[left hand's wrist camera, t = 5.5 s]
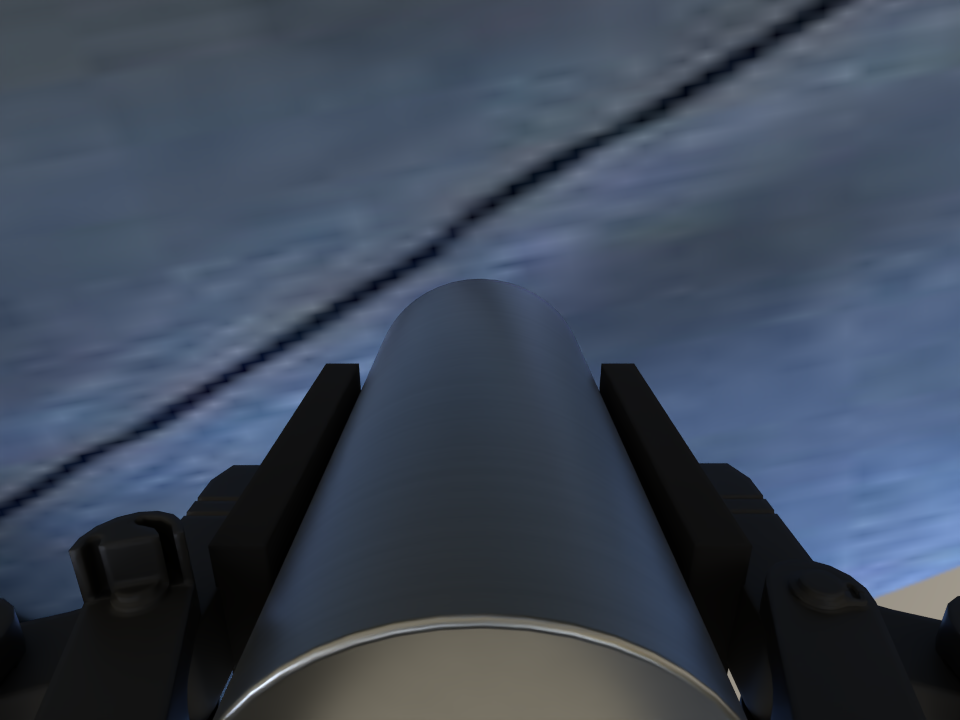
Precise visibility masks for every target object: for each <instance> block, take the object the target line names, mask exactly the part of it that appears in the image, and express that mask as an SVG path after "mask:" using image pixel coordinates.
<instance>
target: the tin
mask: <svg viewBox="0 0 960 720" xmlns="http://www.w3.org/2000/svg"><path fill="white" fill-rule="evenodd" d="M213 720H747V718H746V715H745V713H744V711H743V709H742V707H741V704H740V702H739V700H738V698H737V695H736V693H735V691H734V689H733V687H732V685H731V682H730V680H729V678H728V676H727V673H726V671H725V669H724V667H723V664H722V662H721V660H720V658H719V656H718V653H717V651H716V649H715V647H714V645H713V642H712V640H711V638H710V636H709V633H708V631H707V629H706V627H705V625H704V622H703V620H702V618H701V616H700V613H699V611H698V609H697V607H696V605H695V602H694V600H693V598H692V596H691V594H690V591H689V589H688V587H687V585H686V582H685V580H684V578H683V576H682V574H681V571H680V569H679V567H678V565H677V563H676V560H675V558H674V556H673V554H672V551H671V549H670V547H669V545H668V543H667V540H666V538H665V536H664V534H663V531H662V529H661V527H660V525H659V523H658V520H657V518H656V516H655V514H654V512H653V509H652V507H651V505H650V503H649V500H648V498H647V496H646V494H645V492H644V489H643V487H642V485H641V483H640V481H639V478H638V476H637V474H636V472H635V469H634V467H633V465H632V463H631V461H630V458H629V456H628V454H627V452H626V449H625V447H624V445H623V443H622V441H621V438H620V436H619V434H618V432H617V430H616V427H615V425H614V423H613V421H612V418H611V416H610V414H609V412H608V410H607V407H606V405H605V403H604V401H603V398H602V396H601V394H600V392H599V390H598V387H597V385H596V383H595V381H594V379H593V376H592V374H591V372H590V370H589V367H588V365H587V363H586V361H585V359H584V356H583V354H582V352H581V350H580V348H579V345H578V343H577V341H576V339H575V336H574V334H573V332H572V330H571V329H570V327H569V326H568V324H567V322H566V321H565V320H564V319H563V317H562V316H561V315H560V314H559V313H558V311H557V310H556V309H554V308H553V307H552V306H551V305H550V304H549V303H548V302H547V301H545V300H544V299H542V298H541V297H539V296H538V295H536V294H535V293H533V292H531V291H529V290H527V289H525V288H523V287H520V286H517V285H514V284H511V283H507V282H503V281H498V280H488V279H471V280H463V281H457V282H452V283H449V284H446V285H443V286H440V287H438V288H436V289H433V290H431V291H429V292H427V293H426V294H424V295H422V296H421V297H419V298H418V299H416V300H415V301H414V302H413V303H411V304H410V305H409V306H408V307H407V308H405V309H404V311H403V312H402V313H401V314H400V315H399V316H398V317H397V319H396V320H395V321H394V323H393V324H392V326H391V327H390V329H389V331H388V333H387V335H386V337H385V339H384V341H383V343H382V345H381V348H380V350H379V352H378V354H377V357H376V359H375V361H374V363H373V365H372V368H371V370H370V372H369V374H368V376H367V379H366V381H365V383H364V385H363V388H362V390H361V392H360V394H359V396H358V399H357V401H356V403H355V405H354V408H353V410H352V412H351V414H350V416H349V419H348V421H347V423H346V425H345V427H344V430H343V432H342V434H341V436H340V439H339V441H338V443H337V445H336V447H335V450H334V452H333V454H332V456H331V459H330V461H329V463H328V465H327V467H326V470H325V472H324V474H323V476H322V478H321V481H320V483H319V485H318V487H317V490H316V492H315V494H314V496H313V498H312V501H311V503H310V505H309V507H308V510H307V512H306V514H305V516H304V518H303V521H302V523H301V525H300V527H299V529H298V532H297V534H296V536H295V538H294V541H293V543H292V545H291V547H290V549H289V552H288V554H287V556H286V558H285V561H284V563H283V565H282V567H281V569H280V572H279V574H278V576H277V578H276V580H275V583H274V585H273V587H272V589H271V592H270V594H269V596H268V598H267V600H266V603H265V605H264V607H263V609H262V612H261V614H260V616H259V618H258V620H257V623H256V625H255V627H254V629H253V631H252V634H251V636H250V638H249V640H248V643H247V645H246V647H245V649H244V651H243V654H242V656H241V658H240V660H239V663H238V665H237V667H236V669H235V671H234V674H233V676H232V678H231V680H230V682H229V685H228V687H227V689H226V691H225V694H224V696H223V698H222V700H221V702H220V705H219V707H218V709H217V711H216V714H215V716H214V718H213Z"/></svg>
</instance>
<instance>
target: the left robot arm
mask: <svg viewBox="0 0 960 720" xmlns="http://www.w3.org/2000/svg"><path fill="white" fill-rule="evenodd" d="M360 392H361V385H360V372H359V364H326V365H325V366H324V368H323V369H322V371H321V373H320V374H319V376H318V377H317V379H316V380H315V382H314V383H313V385H312V386H311V388H310V389H309V391H308V393H307V394H306V396H305V397H304V399H303V400H302V402H301V403H300V405H299V406H298V408H297V410H296V411H295V413H294V414H293V416H292V417H291V419H290V420H289V422H288V423H287V425H286V426H285V428H284V430H283V431H282V433H281V434H280V436H279V437H278V439H277V440H276V442H275V443H274V445H273V446H272V448H271V450H270V451H269V453H268V454H267V456H266V457H265V459H264V460H263V462H262V463H261V465H233V466H232V467H230V468H229V469H227V470H226V471H224V472H223V473H221V474H220V475H218V476H217V477H215V478H214V479H212V480H211V481H210V482H209V484H208V485H207V486H206V488H205V489H204V490H203V491H202V493H201V494H200V495H199V497H198V501H195V502H194V503H193V505H192V506H191V507H190V509H189V510H188V511H187V515H186V516H183V518H182V519H181V520H180V519H179V518H177V517H176V516H175V515H174V514H170V513H165V512H161V511H148V512H137V513H133V514H129V515H124V516H120V517H117V518H114V519H112V520H110V521H108V522H105V523H103V524H101V525H98V526H96V527H95V528H93V529H92V530H90V531H89V532H87V533H86V534H84V535H83V536H82V537H80V538H79V539H78V540H77V541H76V543H75V544H74V545H73V546H72V547H71V549H70V550H69V554H70V557H71V561H72V564H73V567H74V571H75V574H76V577H77V581H78V584H79V588H80V591H81V594H82V598H83V601H84V604H83V607H82V608H81V609H78V610H74V611H71V612H67V613H62V614H58V615H53V616H49V617H44V618H40V619H35V620H31V621H26V622H22V623H19V620H18V618H17V615H16V612H15V609H14V606H12V605H11V604H10V603H9V602H7V601H6V600H5V599H1V598H0V720H213V718H214V716H215V714H216V711H217V709H218V707H219V705H220V702H221V701H220V696H221V694H222V692H223V689H224V687H225V685H226V683H227V681H228V678H229V676H230V674H231V672H232V671H233V674H234V671H235V669H236V667H237V665H238V663H239V660H240V658H241V656H242V654H243V651H244V649H245V647H246V645H247V643H248V640H249V638H250V636H251V634H252V631H253V629H254V627H255V625H256V623H257V620H258V618H259V616H260V614H261V612H262V609H263V607H264V605H265V603H266V600H267V598H268V596H269V594H270V592H271V589H272V587H273V585H274V583H275V580H276V578H277V576H278V574H279V572H280V569H281V567H282V565H283V563H284V561H285V558H286V556H287V554H288V552H289V549H290V547H291V545H292V543H293V541H294V538H295V536H296V534H297V532H298V529H299V527H300V525H301V523H302V521H303V518H304V516H305V514H306V512H307V510H308V507H309V505H310V503H311V501H312V498H313V496H314V494H315V492H316V490H317V487H318V485H319V483H320V481H321V478H322V476H323V474H324V472H325V470H326V467H327V465H328V463H329V461H330V459H331V456H332V454H333V452H334V450H335V447H336V445H337V443H338V441H339V439H340V436H341V434H342V432H343V430H344V427H345V425H346V423H347V421H348V419H349V416H350V414H351V412H352V410H353V408H354V405H355V403H356V401H357V399H358V396H359V394H360ZM599 392H600V394H601V396H602V398H603V401H604V403H605V405H606V407H607V410H608V412H609V414H610V416H611V418H612V421H613V423H614V425H615V427H616V430H617V432H618V434H619V436H620V438H621V441H622V443H623V445H624V447H625V449H626V452H627V454H628V456H629V458H630V461H631V463H632V465H633V467H634V469H635V472H636V474H637V476H638V478H639V481H640V483H641V485H642V487H643V489H644V492H645V494H646V496H647V498H648V500H649V503H650V505H651V507H652V509H653V512H654V514H655V516H656V518H657V520H658V523H659V525H660V527H661V529H662V531H663V534H664V536H665V538H666V540H667V543H668V545H669V547H670V549H671V551H672V554H673V556H674V558H675V560H676V563H677V565H678V567H679V569H680V571H681V574H682V576H683V578H684V580H685V582H686V585H687V587H688V589H689V591H690V594H691V596H692V598H693V600H694V602H695V605H696V607H697V609H698V611H699V613H700V616H701V618H702V620H703V622H704V625H705V627H706V629H707V631H708V633H709V636H710V638H711V640H712V642H713V645H714V647H715V649H716V651H717V653H718V656H719V658H720V660H721V662H722V664H723V667H724V669H725V671H726V673H727V672H728V668H729V670H730V672H731V674H732V677H733V679H734V681H735V683H736V685H737V688H738V690H739V692H740V694H741V697H740V701H739V702H740V704H741V707H742V709H743V711H744V713H745V715H746V718H747V720H960V596H957V597H956V598H955V599H953V600H952V601H951V602H950V603H948V605H947V608H946V611H945V613H944V616H943V619H942V620H937V619H933V618H928V617H924V616H919V615H915V614H910V613H905V612H901V611H896V610H892V609H888V608H885V607H881V606H878V605H877V603H876V602H875V600H874V599H873V597H872V596H871V594H870V593H869V592H868V590H867V589H866V588H865V587H864V586H863V585H861V584H860V583H859V582H857V581H856V580H855V579H854V578H852V577H851V576H850V575H848V574H846V573H844V572H842V571H840V570H838V569H836V568H834V567H832V566H829V565H825V564H822V563H818V562H815V561H813V560H812V559H811V558H810V556H809V555H808V554H807V552H806V551H805V550H804V548H803V547H802V546H801V545H800V543H799V542H798V541H797V539H796V538H795V537H794V535H793V534H792V533H791V531H790V530H789V529H788V528H787V526H786V525H785V524H784V522H783V521H782V520H781V518H780V517H779V516H778V515H777V514H774V509H773V508H772V507H771V505H770V504H769V503H768V501H767V500H766V499H763V495H762V494H761V492H760V491H759V490H758V488H757V487H756V486H755V485H754V483H753V482H752V481H751V479H750V478H748V477H747V476H745V475H744V474H742V473H741V472H739V471H738V470H736V469H735V468H733V467H732V466H730V465H729V464H727V463H698V461H697V460H696V458H695V457H694V455H693V454H692V452H691V450H690V449H689V447H688V446H687V444H686V443H685V441H684V440H683V438H682V437H681V435H680V434H679V432H678V430H677V429H676V427H675V426H674V424H673V423H672V421H671V420H670V418H669V417H668V415H667V414H666V412H665V410H664V409H663V407H662V406H661V404H660V403H659V401H658V400H657V398H656V397H655V395H654V394H653V392H652V390H651V389H650V387H649V386H648V384H647V383H646V381H645V380H644V378H643V377H642V375H641V374H640V372H639V370H638V369H637V367H636V366H635V364H601V377H600V390H599Z"/></svg>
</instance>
